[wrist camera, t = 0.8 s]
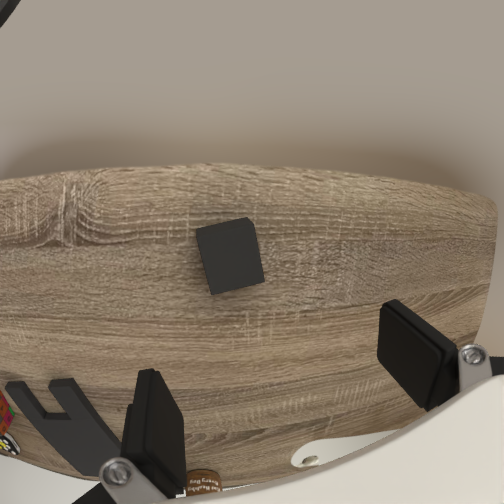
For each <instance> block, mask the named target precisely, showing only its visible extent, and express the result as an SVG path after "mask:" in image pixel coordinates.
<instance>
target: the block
mask: <svg viewBox="0 0 504 504" xmlns="http://www.w3.org/2000/svg"><path fill="white" fill-rule="evenodd" d="M14 415H15V414H14V412H13V411H12V409H11V407H10V406H9V404H8V403H7V401H6V399H5V397H4V396H3V394H2V392H1V390H0V436H3V435H5V433H6V432H7V430H8V428H9V425H10V423H11V421H12V419H13V417H14Z"/></svg>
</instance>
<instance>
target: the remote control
mask: <svg viewBox="0 0 504 504" xmlns="http://www.w3.org/2000/svg"><path fill="white" fill-rule="evenodd" d="M0 448H1V449H3V450H6V451H8V452H10V453H12V454H14V455H18V454H19V452H20V448H19V447H18V445H17V444H16V442H15V441H14V439H13V438H12V436H11V435H10V434H8V433H7V432H6V433H5V435H3V436H0Z"/></svg>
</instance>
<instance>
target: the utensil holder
mask: <svg viewBox="0 0 504 504" xmlns="http://www.w3.org/2000/svg"><path fill="white" fill-rule="evenodd" d="M186 475H187V487H185V490H186V497H187V496H194V495H200V494H207V493H214V492H220V491H222V485H221V479H220V476H219V475H218V474H217V473H216V472H214V471H210V470H194V471H191V472H189V473H187V474H186Z"/></svg>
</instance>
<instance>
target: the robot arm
mask: <svg viewBox="0 0 504 504" xmlns="http://www.w3.org/2000/svg"><path fill="white" fill-rule="evenodd" d="M456 346H457V345H456V344H454V343H453V342H452V341H451V340H449V339H448V338H447V337H445V336H444V335H443V334H442V333H440V332H439V331H438V330H436V329H435V328H434V327H433V326H431V325H430V324H429V323H427V322H426V321H425V320H423V319H422V318H421V317H420V316H418V315H417V314H416V313H414V312H413V311H412V310H410V309H409V308H408V307H406V306H405V305H404V304H402V303H401V302H399V301H398V300H396V299H393V300H391V301H388V302H386V303H384V304H383V305H382V308H381V309H380V318H379V335H378V348H377V358H378V360H379V362H380V363H381V364H382V365H383V366H384V368H385V369H386V370H387V371H388V372H389V373H390V374H391V375H392V377H393V378H394V379H395V380H396V381H397V382H398V383H399V385H400V386H401V387H402V388H403V389H404V390H405V391H406V393H407V394H408V395H409V396H410V397H411V398H412V399H413V401H414V402H415V403H416V404H417V405H418V406H419V407H420V408H424V409H425V410H426V411H427V412H428V411H430V410H431V409H433V408H434V407H436V406H438V407H437V408H435V409H434V410H432V411H431V412H429V413H427V414H426V415H424V416H423V417H421V418H419V419H418V420H416V421H414V422H412V423H411V424H409V425H407V426H405V427H404V428H402V429H400V430H398V431H396V432H394V433H393V434H391V435H389V436H387V437H385V438H383V439H381V440H379V441H377V442H375V443H373V444H370V445H368V446H366V447H364V448H362V449H360V450H357V451H355V452H353V453H350V454H348V455H346V456H343V457H341V458H338V459H336V460H333V461H331V462H328V463H326V464H323V465H320V466H317V467H314V468H311V469H308V470H305V471H302V472H299V473H296V474H293V475H289V476H286V477H282V478H279V479H275V480H271V481H267V482H263V483H259V484H255V485H250V486H246V487H241V488H236V489H231V490H226V491H220V492H214V493H207V494H200V495H194V496H187V497H180V498H176V495H177V494H184V490H183V487H187V475H186V460H185V443H184V420H183V416H182V413H181V411H180V409H179V408H178V406H177V404H176V402H175V400H174V399H173V397H172V395H171V393H170V391H169V389H168V387H167V385H166V384H165V382H164V380H163V378H162V376H161V374H160V372H159V371H155V370H154V369H153V368H151V369H145V370H140V371H139V372H138V377H137V383H136V388H135V394H134V400H133V404H129V405H128V408H127V413H126V418H125V425H124V431H123V438H122V445H121V453H120V457H115V458H111V459H109V460H107V461H106V462H105V463H104V464H103V465H102V466H101V468H100V470H99V479H100V481H101V482H100V483H98V484H97V485H96V486H95V487H94V488H92V489H91V490H89V491H88V492H87V493H86V494H84V495H83V496H81V497H80V498H79V499H77V500H76V501H75V502H74V503H72V504H504V357H490V356H489V354H488V352H487V351H486V349H485V348H484V347H482V346H481V345H478V344H466V345H464V346H462V347H461V348H460V350H458V349H457V348H456Z"/></svg>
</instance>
